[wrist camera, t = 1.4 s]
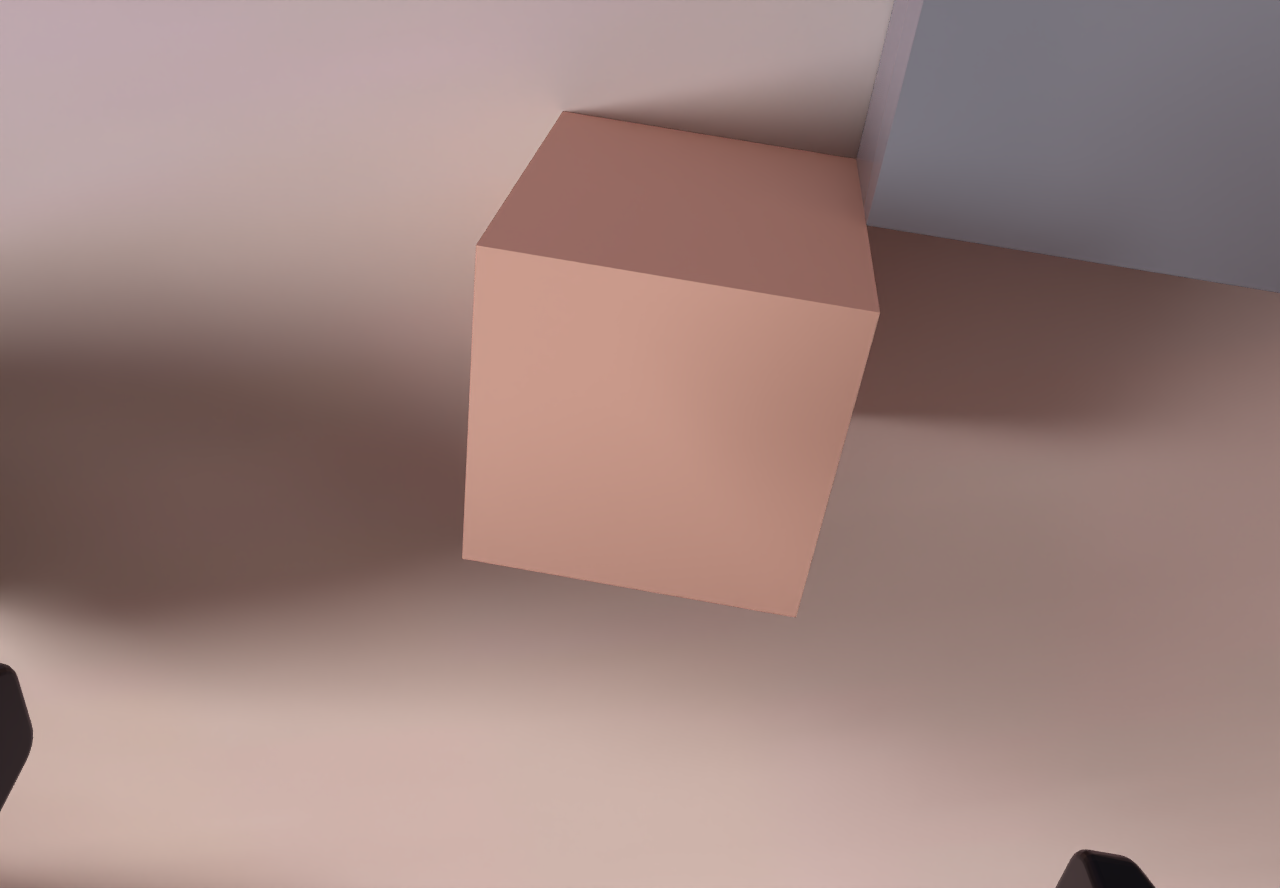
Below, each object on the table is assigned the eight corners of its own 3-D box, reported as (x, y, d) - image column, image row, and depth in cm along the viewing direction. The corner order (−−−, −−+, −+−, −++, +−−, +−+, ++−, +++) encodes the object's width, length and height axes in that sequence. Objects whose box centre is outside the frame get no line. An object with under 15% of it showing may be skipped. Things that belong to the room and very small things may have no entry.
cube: (795, 409, 21) (796, 617, 16) (541, 366, 21) (461, 558, 16) (856, 158, 18) (879, 312, 13) (563, 110, 18) (476, 245, 13)
